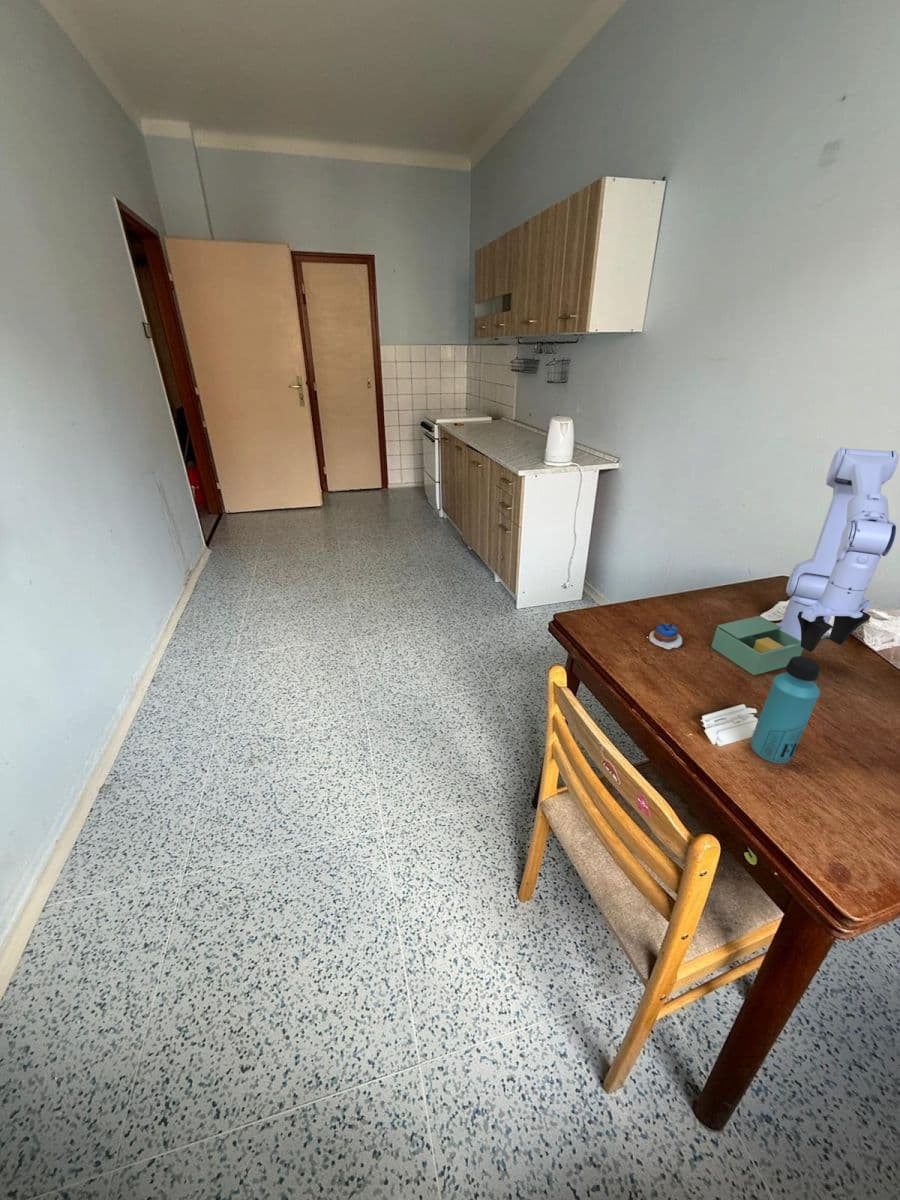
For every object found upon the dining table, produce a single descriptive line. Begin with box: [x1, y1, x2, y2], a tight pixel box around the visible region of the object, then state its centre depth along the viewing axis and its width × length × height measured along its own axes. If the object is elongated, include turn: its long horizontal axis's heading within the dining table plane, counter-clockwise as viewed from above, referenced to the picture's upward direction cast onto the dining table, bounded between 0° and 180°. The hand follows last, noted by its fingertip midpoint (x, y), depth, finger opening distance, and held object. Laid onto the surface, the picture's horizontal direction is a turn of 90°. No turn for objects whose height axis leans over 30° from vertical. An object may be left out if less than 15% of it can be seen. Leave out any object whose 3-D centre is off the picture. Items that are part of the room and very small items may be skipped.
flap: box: [762, 634, 830, 653], centre depth 98 cm, size 13×6×1 cm
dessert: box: [648, 623, 683, 650], centre depth 114 cm, size 8×7×6 cm
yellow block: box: [753, 637, 784, 654], centre depth 105 cm, size 4×4×5 cm
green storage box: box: [711, 615, 805, 676], centre depth 107 cm, size 13×12×6 cm
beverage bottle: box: [749, 656, 821, 764], centre depth 77 cm, size 6×7×20 cm
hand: (821, 645), depth 93 cm, fingers open, 7 cm apart
